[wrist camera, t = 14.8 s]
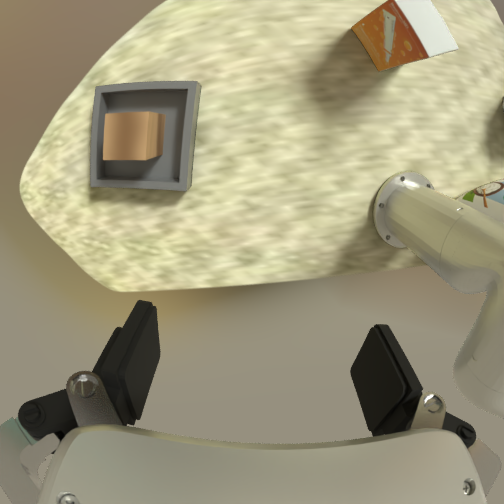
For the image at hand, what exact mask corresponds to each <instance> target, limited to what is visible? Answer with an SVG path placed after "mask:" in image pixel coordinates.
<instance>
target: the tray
mask: <svg viewBox="0 0 504 504" xmlns="http://www.w3.org/2000/svg"><path fill="white" fill-rule="evenodd" d="M200 93H201V85H200V84H199V83H198V81H154V82H135V83H123V84H113V85H104V86H96V89H95V97H94V106H93V117H92V131H91V157H90V182H91V187H118V188H142V189H161V190H176V191H187V190H188V189H189V188H190V187H191V184H192V170H193V158H194V146H195V136H196V126H197V117H198V109H199V101H200ZM124 112H155V113H160V114H165V115H166V118H165V129H164V142H163V155H160V156H157V157H154V158H151V159H148V160H103V143H104V125H105V114H109V113H124Z"/></svg>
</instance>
